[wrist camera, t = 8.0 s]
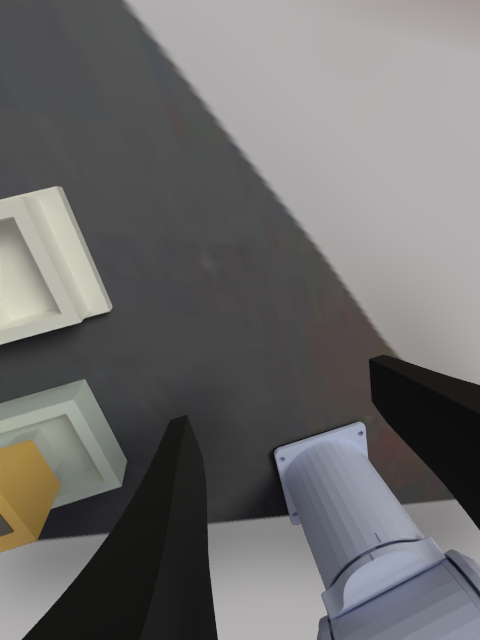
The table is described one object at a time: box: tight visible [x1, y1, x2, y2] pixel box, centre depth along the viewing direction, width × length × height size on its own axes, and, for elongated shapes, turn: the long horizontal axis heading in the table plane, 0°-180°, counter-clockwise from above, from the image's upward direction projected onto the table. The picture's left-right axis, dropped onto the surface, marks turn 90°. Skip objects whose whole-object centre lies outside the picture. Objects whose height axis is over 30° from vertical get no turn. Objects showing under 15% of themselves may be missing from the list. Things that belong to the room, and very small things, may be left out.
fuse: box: [0, 428, 61, 552], centre depth 18 cm, size 4×2×6 cm, turn 13°
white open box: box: [0, 186, 113, 345], centre depth 16 cm, size 7×7×3 cm
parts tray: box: [0, 379, 127, 509], centre depth 20 cm, size 8×9×2 cm
